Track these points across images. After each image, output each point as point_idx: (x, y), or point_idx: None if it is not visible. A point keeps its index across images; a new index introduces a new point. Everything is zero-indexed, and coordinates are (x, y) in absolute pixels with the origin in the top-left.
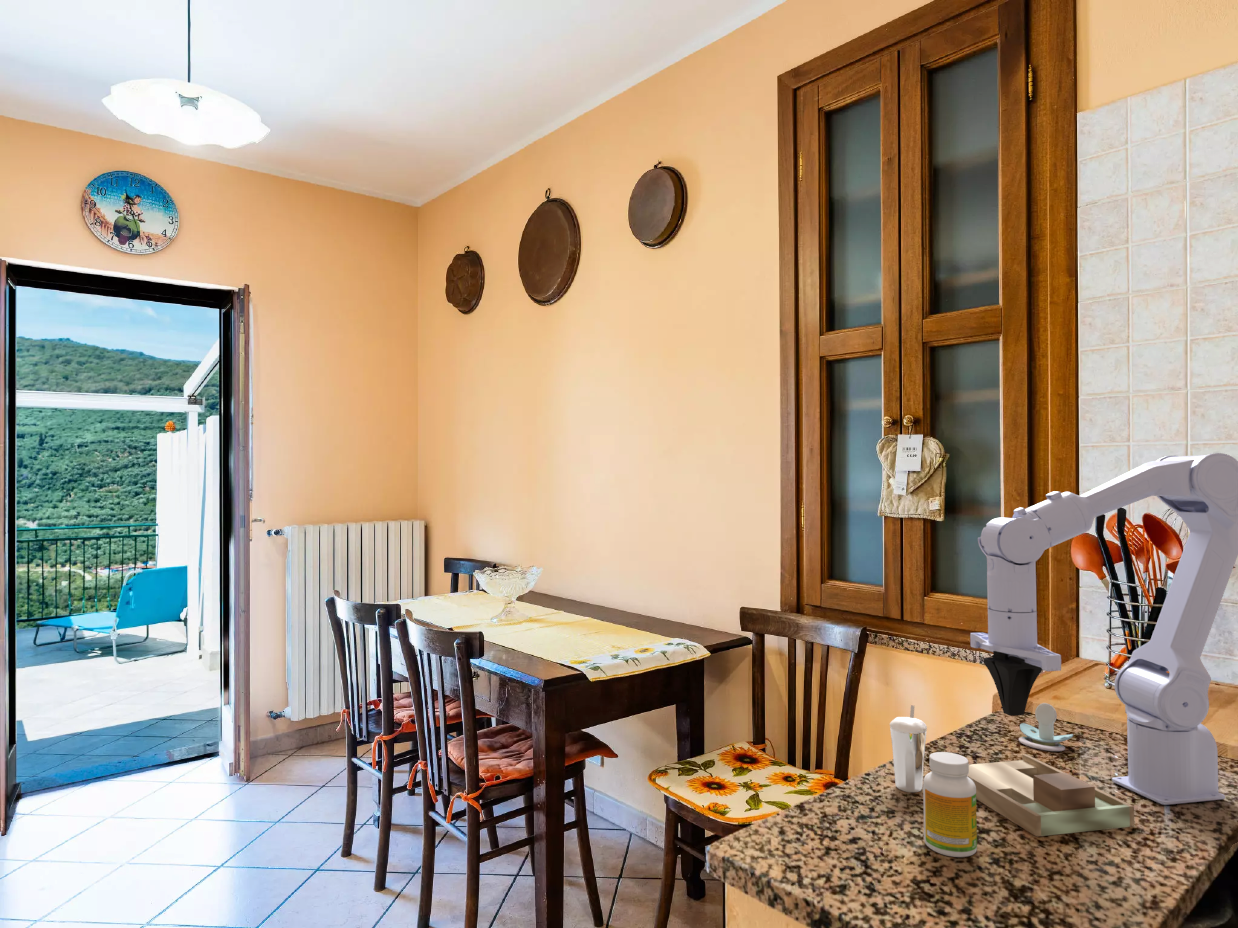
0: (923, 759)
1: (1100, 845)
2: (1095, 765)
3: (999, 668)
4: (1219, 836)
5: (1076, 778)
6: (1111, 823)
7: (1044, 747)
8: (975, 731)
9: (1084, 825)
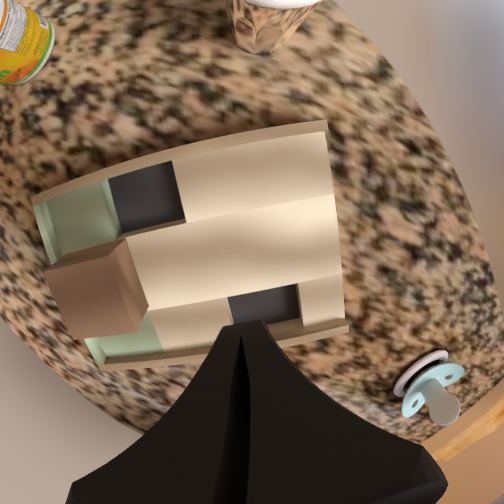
0: (248, 31)
1: (41, 271)
2: None
3: (176, 492)
4: (108, 412)
5: (106, 333)
6: None
7: (406, 373)
8: (490, 302)
9: None
